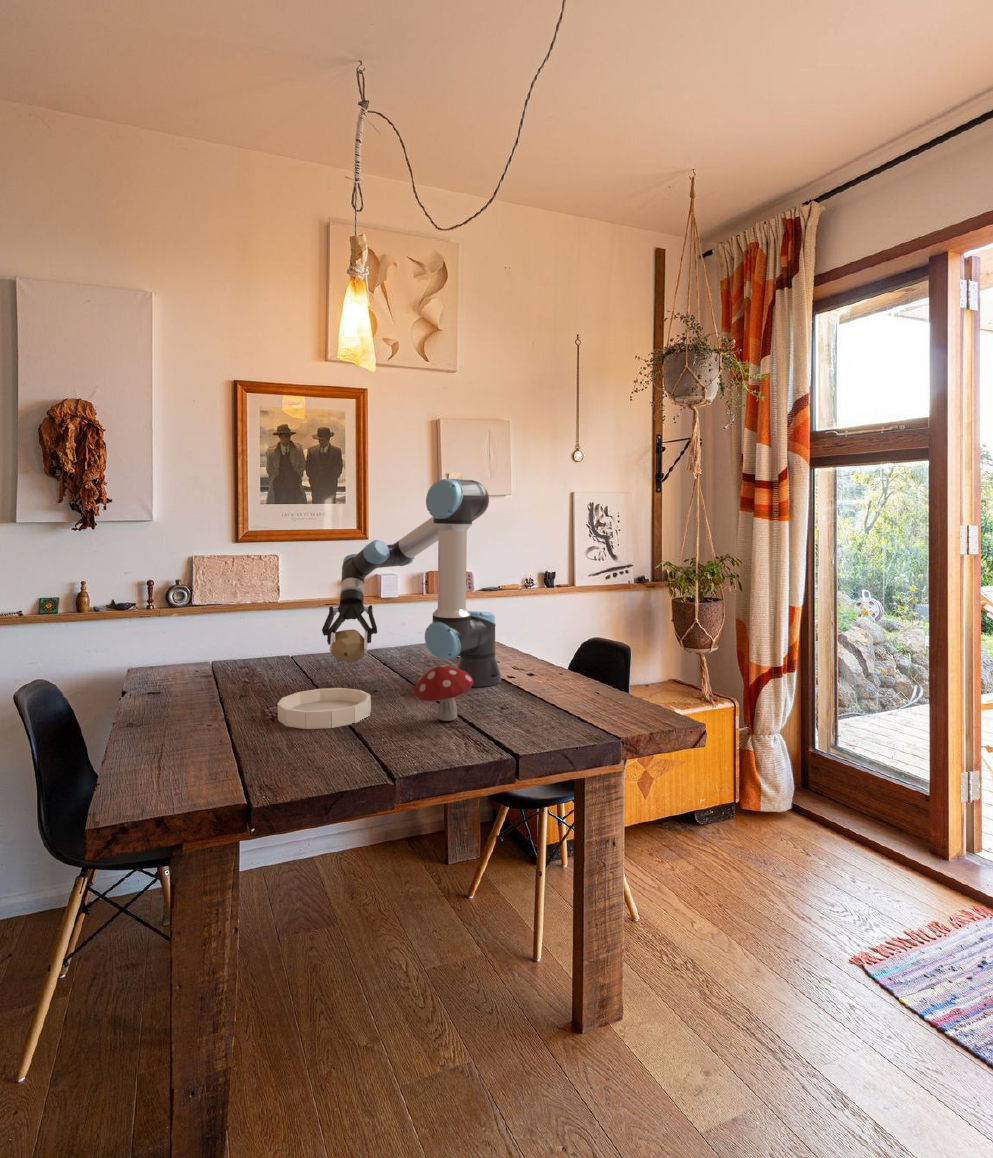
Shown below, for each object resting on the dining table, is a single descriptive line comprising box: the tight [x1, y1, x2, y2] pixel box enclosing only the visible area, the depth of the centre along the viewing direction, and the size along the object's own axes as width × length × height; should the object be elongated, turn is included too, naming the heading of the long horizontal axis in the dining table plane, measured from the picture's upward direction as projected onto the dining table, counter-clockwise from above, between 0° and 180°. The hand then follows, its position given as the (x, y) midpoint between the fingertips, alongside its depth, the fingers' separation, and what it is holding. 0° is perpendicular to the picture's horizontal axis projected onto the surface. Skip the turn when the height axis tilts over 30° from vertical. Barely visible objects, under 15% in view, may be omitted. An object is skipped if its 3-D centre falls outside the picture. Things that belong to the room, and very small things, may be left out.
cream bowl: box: [276, 687, 372, 730], centre depth 188 cm, size 24×24×4 cm
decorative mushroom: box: [413, 665, 474, 722], centre depth 181 cm, size 16×16×15 cm
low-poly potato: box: [330, 629, 366, 664], centre depth 216 cm, size 15×11×12 cm
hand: (348, 651), depth 213 cm, fingers closed on low-poly potato, 10 cm apart
